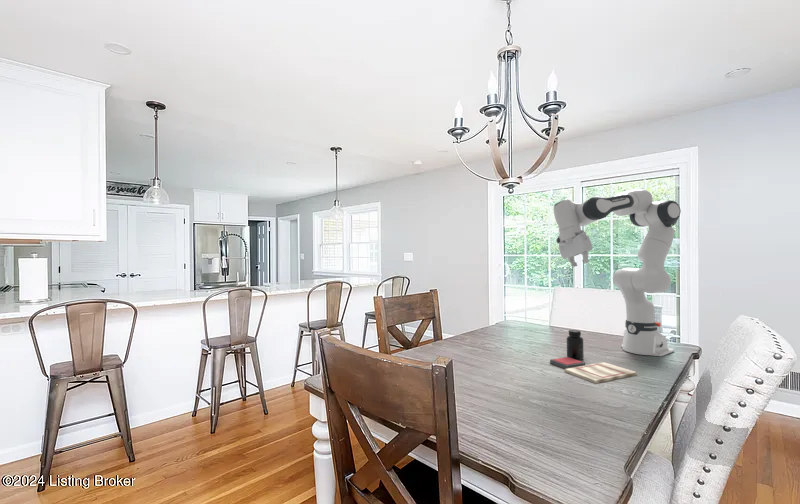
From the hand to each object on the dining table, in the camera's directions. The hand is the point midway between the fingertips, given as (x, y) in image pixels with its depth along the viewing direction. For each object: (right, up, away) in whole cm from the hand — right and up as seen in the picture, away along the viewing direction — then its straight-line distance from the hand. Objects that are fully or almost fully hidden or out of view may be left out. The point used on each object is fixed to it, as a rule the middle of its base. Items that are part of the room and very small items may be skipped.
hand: (580, 265), depth 162 cm
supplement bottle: (-1, -42, +2) cm, 42 cm away
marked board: (-1, -41, -19) cm, 45 cm away
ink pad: (-9, -41, -8) cm, 43 cm away
